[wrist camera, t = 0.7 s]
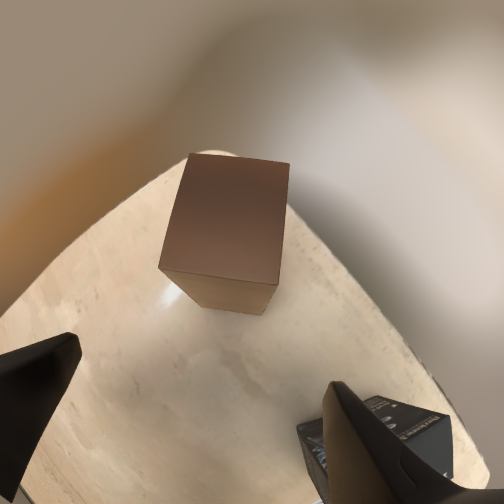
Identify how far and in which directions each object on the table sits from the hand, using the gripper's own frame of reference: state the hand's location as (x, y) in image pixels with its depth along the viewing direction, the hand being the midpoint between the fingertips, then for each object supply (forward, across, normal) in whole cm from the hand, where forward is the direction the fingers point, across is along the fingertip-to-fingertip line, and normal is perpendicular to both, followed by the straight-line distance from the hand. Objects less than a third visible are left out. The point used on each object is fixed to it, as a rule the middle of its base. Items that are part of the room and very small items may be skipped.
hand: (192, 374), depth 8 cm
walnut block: (+15, 0, +3) cm, 15 cm away
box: (+7, -11, +13) cm, 19 cm away
